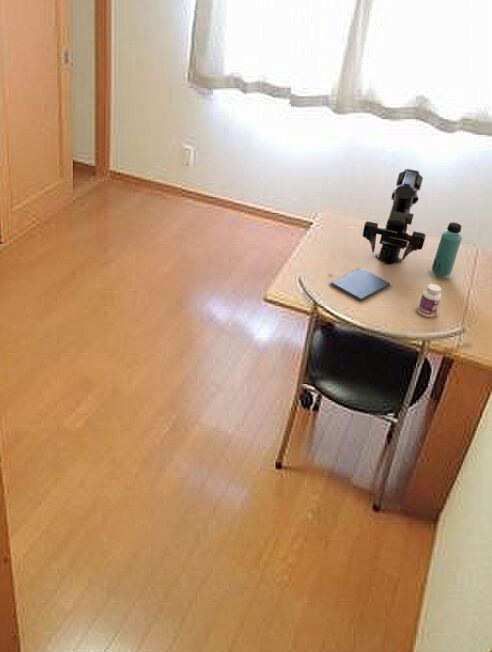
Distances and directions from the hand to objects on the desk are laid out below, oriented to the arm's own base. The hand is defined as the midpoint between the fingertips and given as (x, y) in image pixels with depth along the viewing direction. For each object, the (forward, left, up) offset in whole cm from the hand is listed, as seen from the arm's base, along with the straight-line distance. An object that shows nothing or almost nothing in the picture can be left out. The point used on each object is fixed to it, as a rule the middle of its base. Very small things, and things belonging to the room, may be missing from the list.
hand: (387, 255), depth 207 cm
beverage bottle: (-28, +1, -15) cm, 32 cm away
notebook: (+2, -6, -15) cm, 16 cm away
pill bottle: (-6, +15, -15) cm, 22 cm away
